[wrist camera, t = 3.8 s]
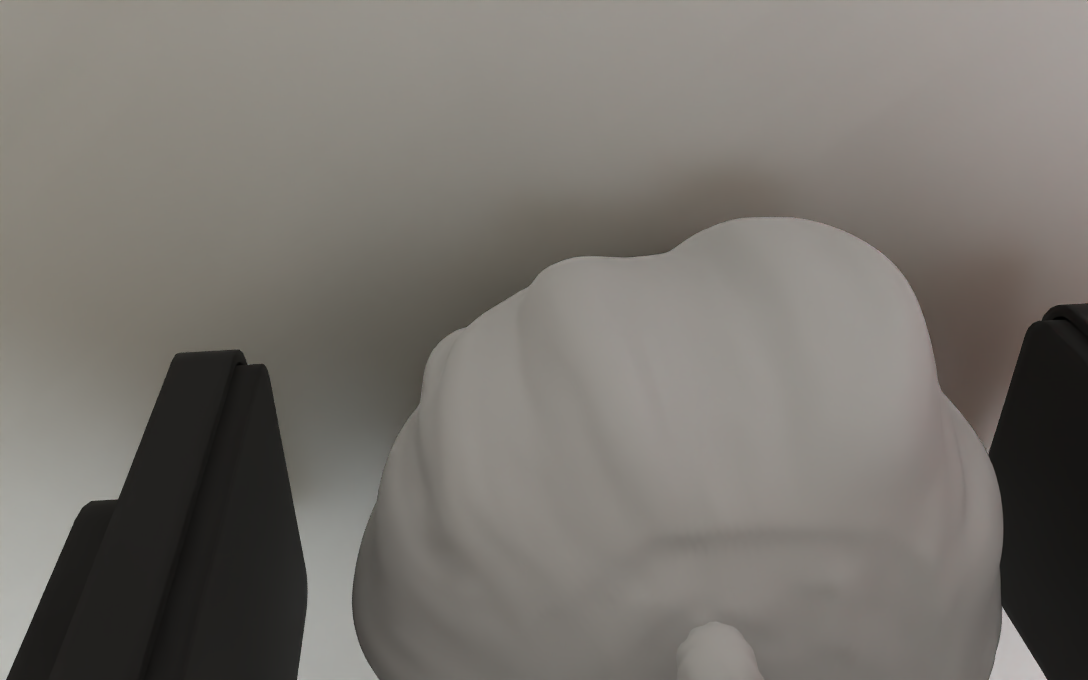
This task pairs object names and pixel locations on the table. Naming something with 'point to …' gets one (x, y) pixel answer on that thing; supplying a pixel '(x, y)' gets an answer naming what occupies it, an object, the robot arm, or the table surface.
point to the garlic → (688, 480)
